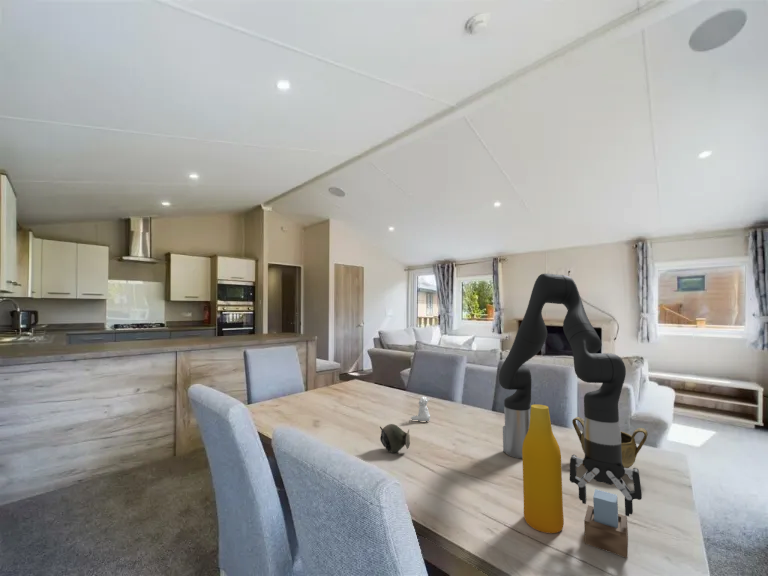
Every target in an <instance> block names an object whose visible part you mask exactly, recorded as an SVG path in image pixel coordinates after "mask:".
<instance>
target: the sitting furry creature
mask: <svg viewBox="0 0 768 576" xmlns="http://www.w3.org/2000/svg"><path fill="white" fill-rule="evenodd" d="M429 401H430V397H426V396H421V397H420V399H419V401H418V405H419V407H418V413H417V415H413V416H411V417H410V420H411V419H412V420H418V421H429V420H430V421H431V414H430V411H429V408H428V406H427V404H428V402H429ZM430 421H429V422H430Z"/></svg>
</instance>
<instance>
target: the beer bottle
mask: <svg viewBox="0 0 768 576" xmlns="http://www.w3.org/2000/svg"><path fill="white" fill-rule="evenodd" d="M521 459H522V485H523V486H522V487H523V489H522V490H523V493H522V494H523V517H524V520H525V522H526V523H527V525H528V526H529V527H531V528H532V529H533V530H536V531H538V532H541V533H544V534H545V533H546V534H558V533H560V532H561V531H562V530H563V529H564V524H565V522H564V521H565V519H564V505H563V503H564V501H563V477H562V475H563V474H562V472H563V471H562V454H561V449H560V446H559V443H558V440H557V438H556V437H555V434H554V433H553V429H552V423H551V415H550V409H549V406H548V405H544V404H537V403H536V404H530V425H529V430H528V432H527V434H526V436H525V439H524V441H523V447H522V458H521Z"/></svg>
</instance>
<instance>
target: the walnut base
mask: <svg viewBox="0 0 768 576" xmlns="http://www.w3.org/2000/svg"><path fill="white" fill-rule="evenodd" d="M583 521H584V527H583V528H584V544H586V545H588V546H590V547H594V548H597V549H599V550H603V551H606V552H608V553H611V554H614V555H617V556H620V557H623V558H625V559H628V556H629V554H628V551H629V535H628V534H629V530H628V516H626V515H625V514H620V513H618V528H615V527H611V526H608V525H605V524H602V523H598V522H595V521H594V505H593V506H592V505H589V504H588V505H587V509H586V512H585V517H584V520H583Z"/></svg>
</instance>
